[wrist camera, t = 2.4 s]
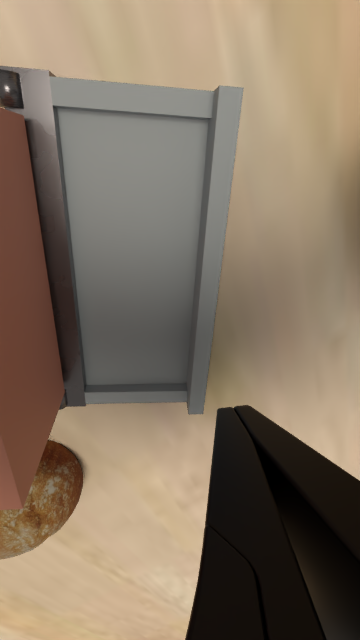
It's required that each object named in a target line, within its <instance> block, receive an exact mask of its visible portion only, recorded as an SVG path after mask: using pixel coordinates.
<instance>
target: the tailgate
mask: <svg viewBox="0 0 360 640" xmlns="http://www.w3.org/2000/svg"><path fill="white" fill-rule="evenodd" d="M64 393H65V389H64V383H63V376H62V369H61V363H60V356H59V349H58V342H57V336H56V329H55V322H54V315H53V309H52V302H51V295H50V289H49V282H48V275H47V268H46V262H45V255H44V248H43V242H42V235H41V228H40V221H39V215H38V208H37V201H36V194H35V188H34V181H33V174H32V168H31V161H30V154H29V147H28V141H27V134H26V127H25V121H24V116H23V115H21V114H18V113H15V112H12V111H9V110H6V109H3V108H0V510H11V509H23V507H24V505H25V502H26V499H27V496H28V493H29V491H30V488H31V485H32V482H33V479H34V477H35V474H36V471H37V468H38V466H39V463H40V460H41V457H42V454H43V452H44V449H45V446H46V443H47V441H48V438H49V435H50V432H51V429H52V427H53V424H54V421H55V418H56V415H57V413H58V410H59V407H60V404H61V402H62V399H63V396H64Z"/></svg>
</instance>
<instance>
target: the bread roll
mask: <svg viewBox="0 0 360 640" xmlns="http://www.w3.org/2000/svg"><path fill="white" fill-rule="evenodd" d="M82 487H83V473H82V470H81V467H80V464H79V462H78V460H77V458H76V457H75V456H74V455H73V454H72V453H71V452H70V451H69V450H68V449H67V448H65V447H64V446H62V445H61V444H59V443H57V442H54V441H49V440H48V441H47V443H46V446H45V449H44V452H43V454H42V457H41V460H40V463H39V466H38V468H37V471H36V474H35V477H34V479H33V482H32V485H31V488H30V491H29V493H28V496H27V499H26V502H25V505H24V507H23V509H11V510H0V559H6V558H10V557H14V556H17V555H20V554H23V553H25V552H28V551H31V550H33V549H34V548H36V547H37V546H39V545H40V544H41V543H43V542H44V541H45V540H46V539H47V538H48V537H49V536H51V535H53V534H54V533H56V532H57V531H58V530H59V529H60V528H61V527H62V526H63V525H64V524H65V522H66V521H67V520H68V519H69V517H70V516H71V514H72V513H73V511H74V509H75V507H76V505H77V503H78V501H79V498H80V495H81V491H82Z"/></svg>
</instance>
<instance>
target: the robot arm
mask: <svg viewBox="0 0 360 640" xmlns="http://www.w3.org/2000/svg"><path fill="white" fill-rule="evenodd" d="M185 640H360V481H359V480H358V479H356V478H355V477H353V476H352V475H350V474H349V473H347V472H346V471H345V470H343V469H342V468H340V467H339V466H337V465H336V464H334V463H333V462H331V461H330V460H328V459H327V458H325V457H324V456H323V455H321V454H320V453H318V452H317V451H315V450H314V449H312V448H311V447H309V446H308V445H306V444H305V443H303V442H302V441H301V440H299V439H298V438H296V437H295V436H293V435H292V434H290V433H289V432H287V431H286V430H284V429H283V428H282V427H280V426H279V425H277V424H276V423H274V422H273V421H271V420H270V419H268V418H267V417H265V416H264V415H262V414H261V413H260V412H258V411H257V410H255V409H254V408H252V407H251V406H249V405H243V406H235V407H234V408H232V407H227V408H219V409H218V410H217V418H216V427H215V437H214V446H213V456H212V465H211V475H210V484H209V493H208V503H207V512H206V522H205V529H204V538H203V548H202V555H201V562H200V569H199V576H198V582H197V587H196V592H195V597H194V602H193V606H192V611H191V616H190V621H189V625H188V629H187V634H186V638H185Z"/></svg>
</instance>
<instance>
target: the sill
mask: <svg viewBox="0 0 360 640" xmlns="http://www.w3.org/2000/svg"><path fill="white" fill-rule="evenodd" d="M49 76H51V77H56V76H55V75H53V74H52V73H51V72H50V71H49V70H40V69H29V68H18V67H8V66H0V107H3V108H5V109H6V110H9V111H12V112H15V113H18V114H21V115H23V116H24V121H25V127H26V134H27V141H28V147H29V154H30V161H31V168H32V174H33V181H34V188H35V194H36V201H37V208H38V215H39V221H40V228H41V235H42V242H43V248H44V255H45V262H46V268H47V275H48V282H49V289H50V295H51V302H52V309H53V315H54V322H55V329H56V336H57V342H58V349H59V356H60V363H61V369H62V376H63V383H64V389H65V393H64V396H63V399H62V402H61V404H60V407H59V410H60V409H63V408H65V407H67V406H86V402H85V393H84V392H85V389H86V385H87V384H86V375H85V365H84V356H83V346H82V337H81V327H80V318H79V308H78V299H77V289H76V280H75V270H74V261H73V251H72V242H71V232H70V223H69V213H68V204H67V194H66V185H65V175H64V166H63V156H62V147H61V137H60V128H59V118H58V109H57V108H56V107H55V106H53V105H52V96H51V87H50V78H49Z"/></svg>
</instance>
